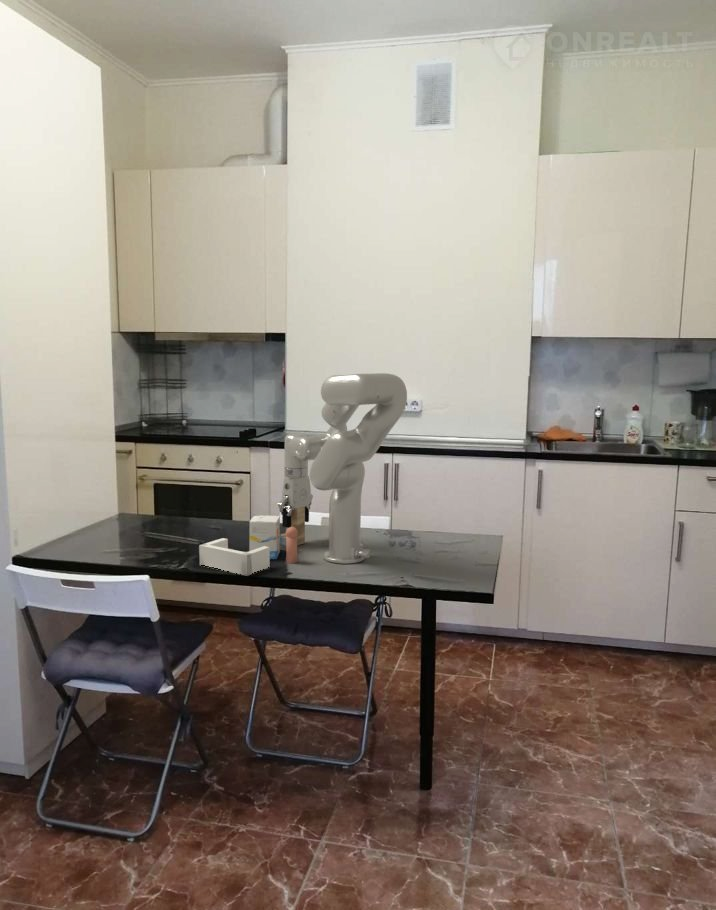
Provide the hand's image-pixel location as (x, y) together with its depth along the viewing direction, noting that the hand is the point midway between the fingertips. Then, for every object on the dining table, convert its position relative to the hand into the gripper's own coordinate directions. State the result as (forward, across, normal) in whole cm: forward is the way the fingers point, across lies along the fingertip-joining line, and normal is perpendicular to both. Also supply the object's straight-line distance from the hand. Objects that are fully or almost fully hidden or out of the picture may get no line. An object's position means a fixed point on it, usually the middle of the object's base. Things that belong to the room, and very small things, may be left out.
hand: (295, 524), depth 235 cm
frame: (+6, -30, 0) cm, 31 cm away
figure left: (+6, -17, -11) cm, 21 cm away
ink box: (+7, -16, 0) cm, 17 cm away
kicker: (+6, -4, 0) cm, 7 cm away
